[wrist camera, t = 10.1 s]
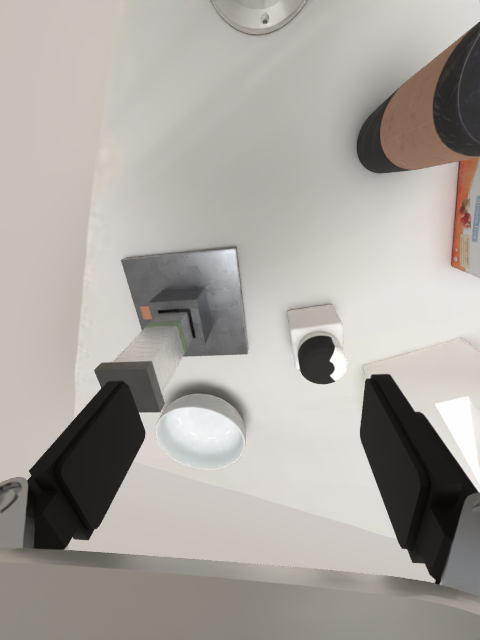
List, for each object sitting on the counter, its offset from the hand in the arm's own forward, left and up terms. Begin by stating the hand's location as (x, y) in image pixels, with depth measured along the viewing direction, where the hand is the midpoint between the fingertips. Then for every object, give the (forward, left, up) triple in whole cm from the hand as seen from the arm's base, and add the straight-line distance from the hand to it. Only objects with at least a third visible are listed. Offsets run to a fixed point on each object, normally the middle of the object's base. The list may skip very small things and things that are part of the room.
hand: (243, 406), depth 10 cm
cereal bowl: (+32, -14, -33) cm, 48 cm away
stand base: (+8, -13, -32) cm, 36 cm away
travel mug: (-12, +16, -32) cm, 38 cm away
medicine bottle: (+13, +7, -32) cm, 36 cm away
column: (+8, -13, -25) cm, 29 cm away
